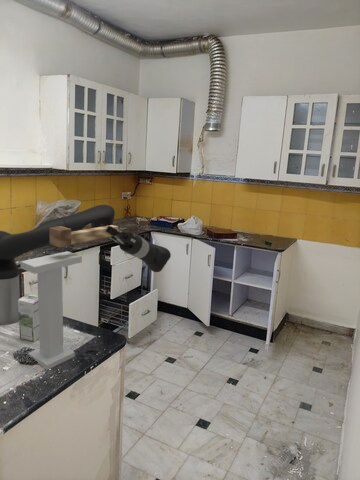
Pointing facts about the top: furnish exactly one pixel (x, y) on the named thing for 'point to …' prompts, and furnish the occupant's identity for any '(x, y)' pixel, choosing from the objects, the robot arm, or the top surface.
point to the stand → (50, 307)
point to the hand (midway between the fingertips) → (104, 227)
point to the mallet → (76, 235)
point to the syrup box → (28, 317)
